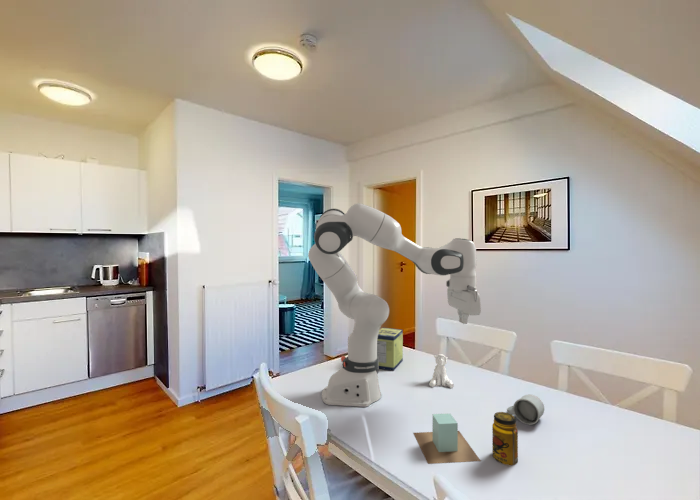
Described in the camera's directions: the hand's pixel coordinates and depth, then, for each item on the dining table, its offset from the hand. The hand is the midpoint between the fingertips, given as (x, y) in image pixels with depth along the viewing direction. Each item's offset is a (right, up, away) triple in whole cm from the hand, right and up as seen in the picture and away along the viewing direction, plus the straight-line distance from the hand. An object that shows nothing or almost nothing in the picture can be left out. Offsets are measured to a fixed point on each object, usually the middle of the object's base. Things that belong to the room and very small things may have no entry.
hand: (463, 323), depth 117 cm
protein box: (-22, -29, +41) cm, 55 cm away
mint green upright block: (-14, -28, -26) cm, 41 cm away
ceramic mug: (+17, -30, -9) cm, 35 cm away
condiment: (+1, -30, -30) cm, 42 cm away
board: (-14, -29, -26) cm, 42 cm away
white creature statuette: (-3, -29, +18) cm, 34 cm away
